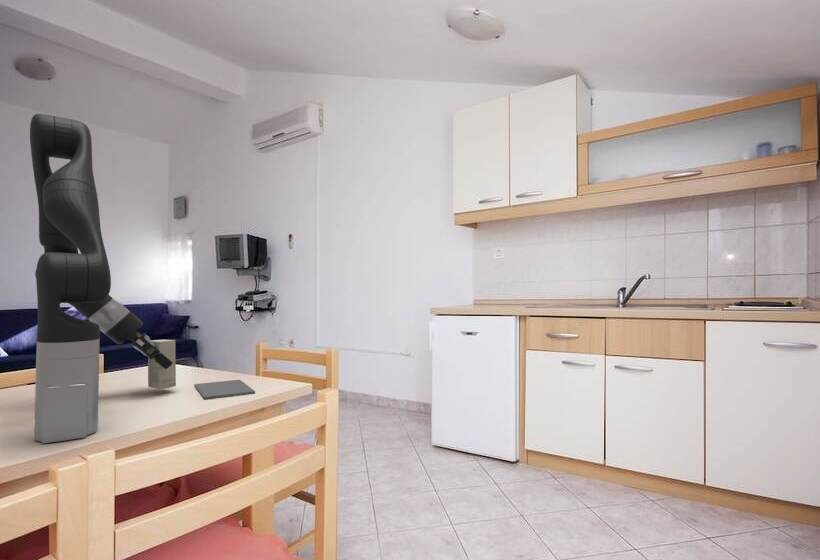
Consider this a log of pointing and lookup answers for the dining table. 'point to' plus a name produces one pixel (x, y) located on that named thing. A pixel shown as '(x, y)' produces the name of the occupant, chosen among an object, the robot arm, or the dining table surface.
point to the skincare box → (156, 372)
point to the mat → (223, 389)
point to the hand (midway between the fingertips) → (168, 364)
